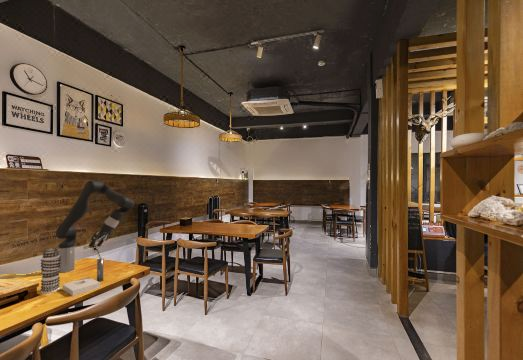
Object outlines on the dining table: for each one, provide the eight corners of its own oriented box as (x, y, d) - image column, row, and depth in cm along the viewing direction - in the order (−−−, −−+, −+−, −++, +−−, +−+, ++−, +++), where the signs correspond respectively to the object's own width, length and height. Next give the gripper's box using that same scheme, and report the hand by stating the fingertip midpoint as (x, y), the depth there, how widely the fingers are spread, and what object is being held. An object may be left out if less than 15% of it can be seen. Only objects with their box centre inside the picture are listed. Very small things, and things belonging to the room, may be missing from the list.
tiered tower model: (59, 291, 144) (59, 249, 145) (38, 295, 139) (39, 251, 140) (61, 286, 152) (62, 245, 152) (42, 289, 147) (42, 247, 148)
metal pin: (95, 280, 160) (96, 259, 161) (101, 279, 163) (102, 258, 163) (98, 282, 158) (98, 260, 159) (104, 280, 161) (104, 259, 161)
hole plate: (62, 289, 147) (62, 284, 147) (88, 281, 159) (88, 277, 159) (72, 296, 138) (72, 290, 138) (100, 287, 150) (100, 282, 150)
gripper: (111, 222, 168) (95, 243, 164) (99, 220, 154) (82, 243, 150) (120, 227, 167) (105, 248, 163) (109, 226, 153) (92, 250, 150)
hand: (94, 246), depth 157 cm, fingers open, 8 cm apart
